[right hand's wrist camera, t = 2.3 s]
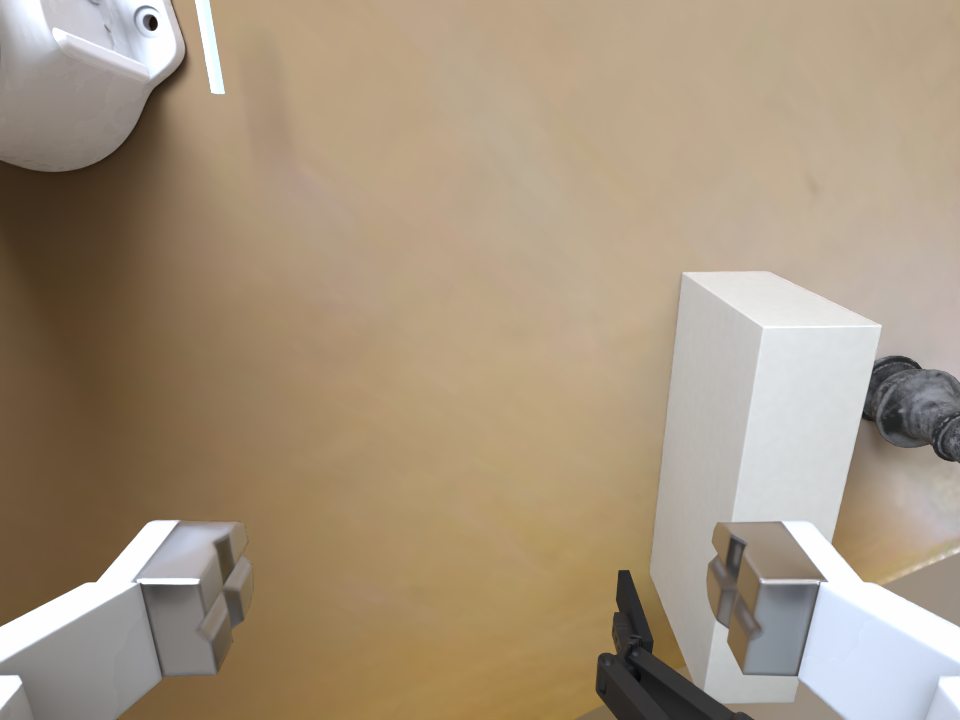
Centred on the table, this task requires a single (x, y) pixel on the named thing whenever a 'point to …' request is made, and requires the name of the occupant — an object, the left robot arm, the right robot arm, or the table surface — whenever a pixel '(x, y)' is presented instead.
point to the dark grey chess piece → (915, 406)
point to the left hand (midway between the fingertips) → (715, 583)
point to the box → (751, 443)
